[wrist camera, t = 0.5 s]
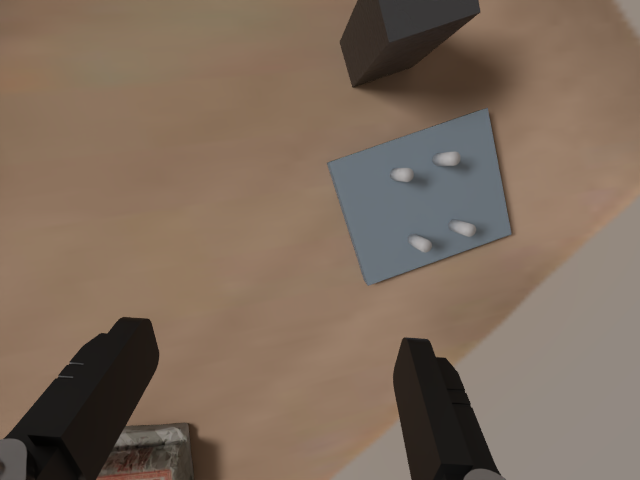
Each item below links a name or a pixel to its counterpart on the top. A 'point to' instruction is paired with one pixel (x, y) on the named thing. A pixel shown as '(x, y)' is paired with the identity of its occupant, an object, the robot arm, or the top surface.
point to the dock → (422, 196)
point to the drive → (398, 34)
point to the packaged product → (150, 454)
